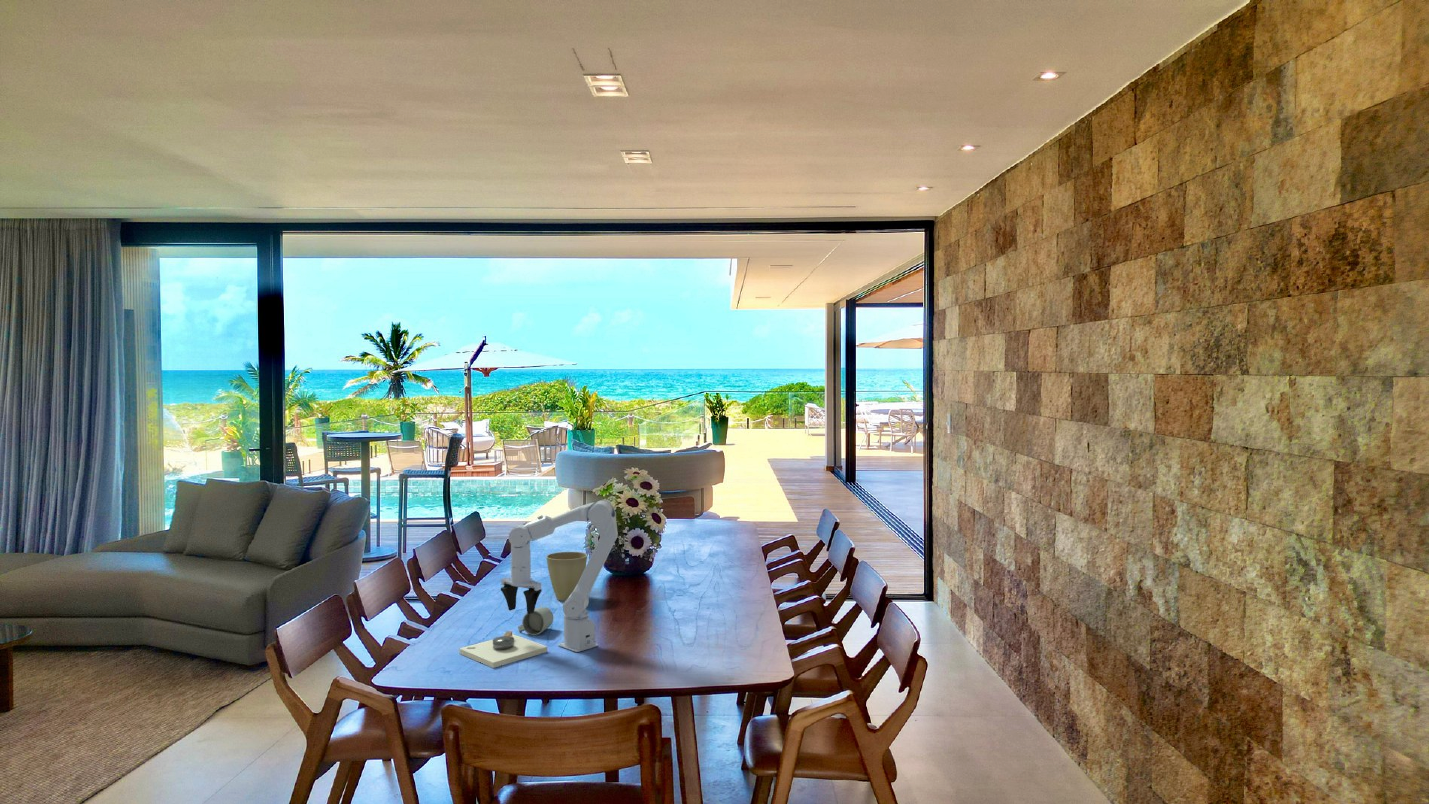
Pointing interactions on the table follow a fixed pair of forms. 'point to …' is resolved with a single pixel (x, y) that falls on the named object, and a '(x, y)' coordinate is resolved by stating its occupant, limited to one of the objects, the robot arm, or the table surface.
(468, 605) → the table surface
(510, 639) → the twist handle
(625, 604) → the table surface
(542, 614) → the ceramic mug
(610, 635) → the table surface
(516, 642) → the base
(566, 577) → the plant pot
